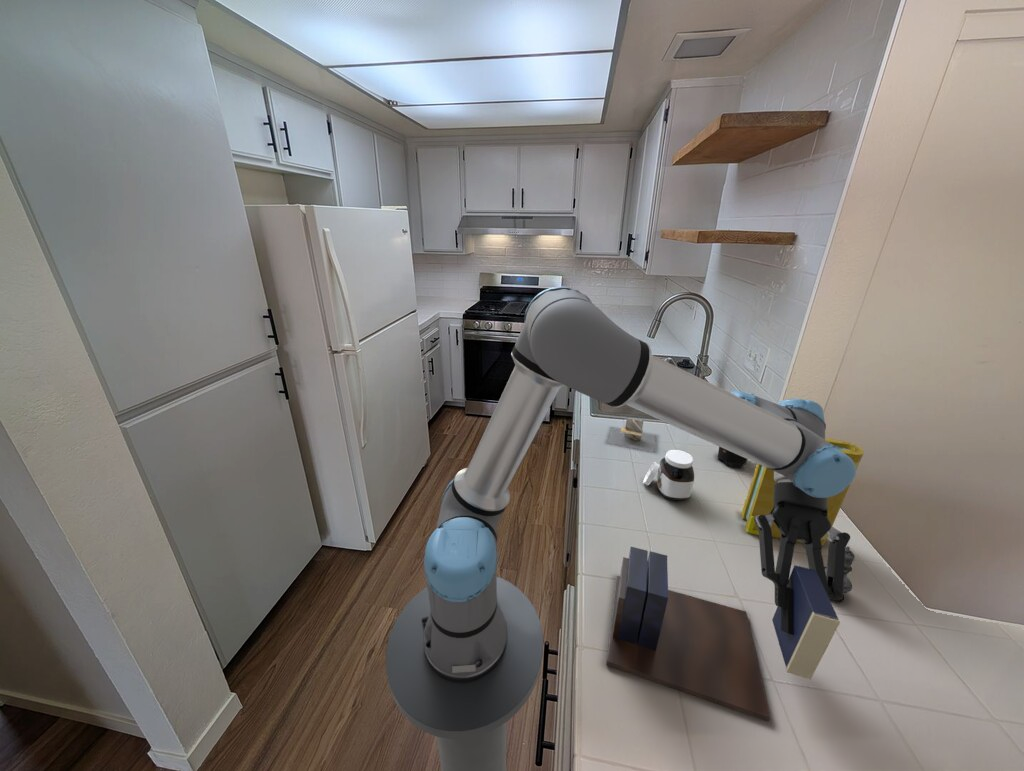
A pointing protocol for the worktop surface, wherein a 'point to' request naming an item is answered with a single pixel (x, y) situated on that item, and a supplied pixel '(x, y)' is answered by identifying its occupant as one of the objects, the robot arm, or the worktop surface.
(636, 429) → the architectural model
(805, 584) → the navy book
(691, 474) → the spread jar
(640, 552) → the book rack
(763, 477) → the book
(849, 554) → the chess piece
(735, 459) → the portable speaker
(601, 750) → the worktop surface
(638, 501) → the worktop surface
